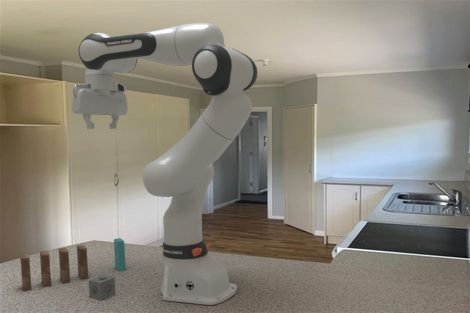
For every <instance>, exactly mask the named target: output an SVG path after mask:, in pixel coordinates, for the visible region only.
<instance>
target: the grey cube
mask: <svg viewBox="0 0 470 313" xmlns="http://www.w3.org/2000/svg"><path fill="white" fill-rule="evenodd" d="M115 280H116V279H115V277H114V276H109V275H105V274H101V275H98V276H96V277H93V278H90V279H89V280H88V293H89V295H88V296H89V297H88V298H91V299H95V300H98V301H103V300H106V299H108V298H110V297H112V296H114V295H115V296H116V282H115Z"/></svg>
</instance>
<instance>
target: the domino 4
mask: <svg viewBox="0 0 470 313" xmlns="http://www.w3.org/2000/svg"><path fill="white" fill-rule="evenodd" d="M87 249H88V247H87V246H86V245H85V244H79V245H76V255H77V256H76V257H77V273H78V277H79V279H80V280H81V281H83V280H88V279H89V268H88V264H89V263H88V250H87Z"/></svg>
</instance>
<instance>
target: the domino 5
mask: <svg viewBox="0 0 470 313" xmlns="http://www.w3.org/2000/svg"><path fill="white" fill-rule="evenodd" d="M113 244H114V245H113V246H114V263H115V264H114V265H115V267H116V268H117V269H118V270H117V269H116V268H115V269H116V270H117V271H118V272H124V271H126V269H127V267H126V250H125V240H124V239H122V238H121V237H120V238H119V237H118V238H113Z"/></svg>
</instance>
